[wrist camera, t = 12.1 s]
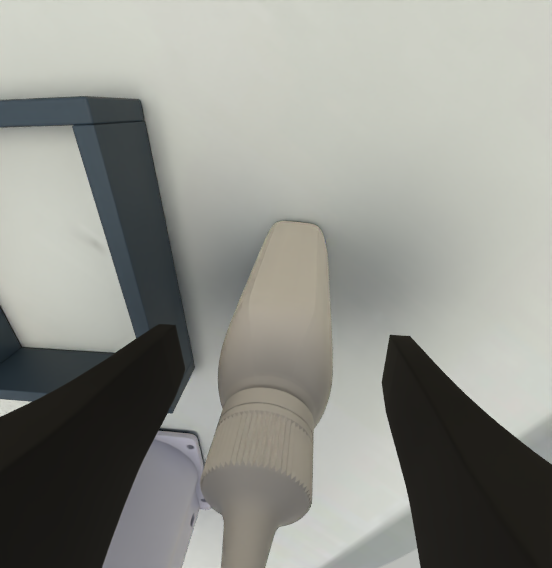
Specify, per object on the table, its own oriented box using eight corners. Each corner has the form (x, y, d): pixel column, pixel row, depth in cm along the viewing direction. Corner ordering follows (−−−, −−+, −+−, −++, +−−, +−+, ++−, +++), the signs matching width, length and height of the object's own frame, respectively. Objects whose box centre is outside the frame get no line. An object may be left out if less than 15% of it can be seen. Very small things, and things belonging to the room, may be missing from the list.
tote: (195, 367, 20) (172, 414, 17) (16, 355, 22) (-34, 396, 18) (141, 99, 13) (85, 95, 10) (-119, 109, 15) (-235, 110, 11)
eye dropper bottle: (228, 288, 17) (79, 581, 6) (288, 201, 14) (199, 454, 4) (296, 330, 18) (261, 651, 7) (364, 254, 15) (463, 585, 5)
